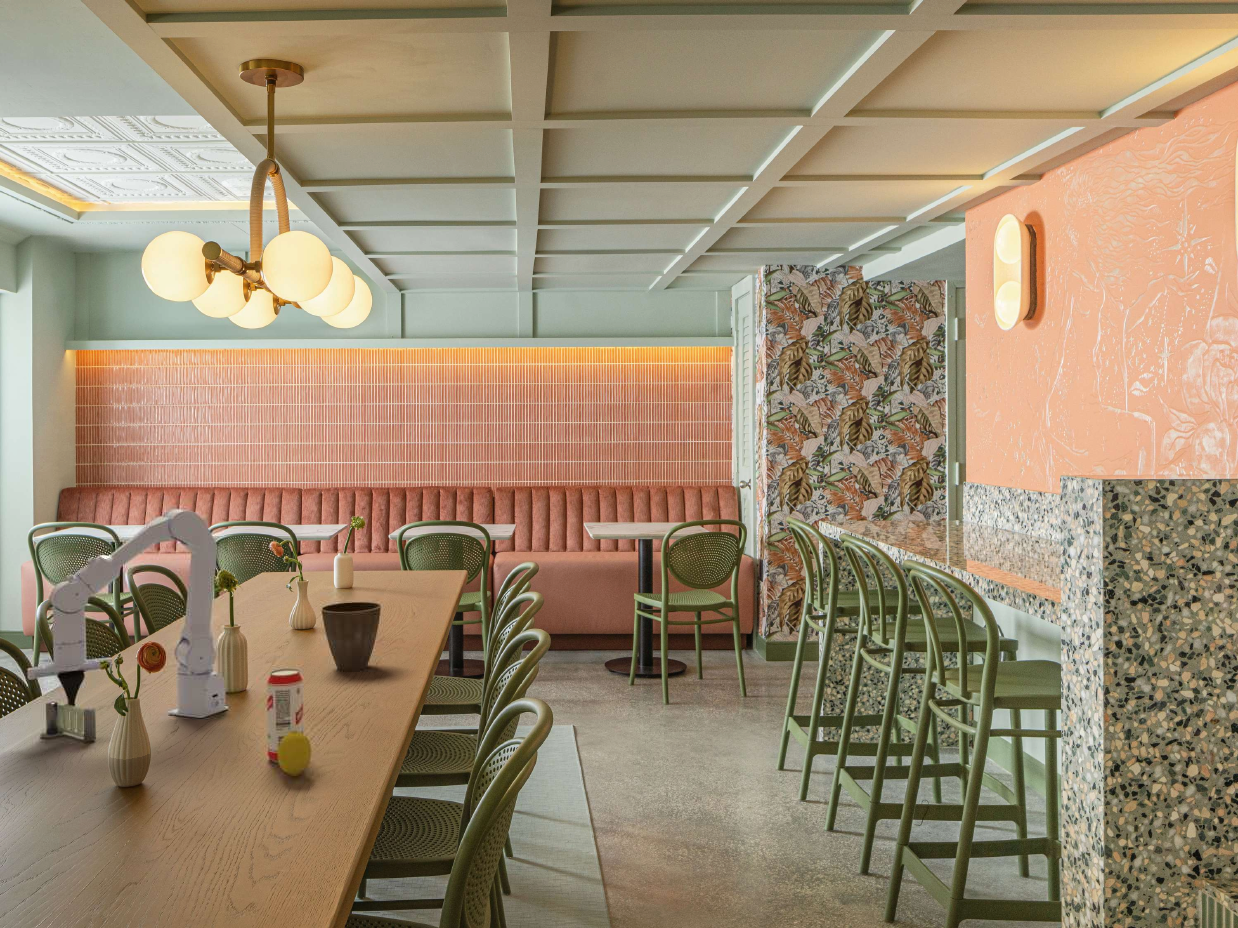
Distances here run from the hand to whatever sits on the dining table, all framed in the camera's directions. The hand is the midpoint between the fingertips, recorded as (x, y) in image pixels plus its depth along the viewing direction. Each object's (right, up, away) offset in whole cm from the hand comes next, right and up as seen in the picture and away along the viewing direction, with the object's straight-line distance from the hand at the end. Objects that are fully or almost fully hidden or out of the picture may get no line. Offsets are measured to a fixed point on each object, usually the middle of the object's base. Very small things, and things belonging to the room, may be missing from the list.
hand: (71, 708), depth 191 cm
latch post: (-3, -5, -2) cm, 6 cm away
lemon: (+54, -5, -26) cm, 60 cm away
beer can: (+49, -5, -16) cm, 52 cm away
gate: (+3, -4, -3) cm, 6 cm away
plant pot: (+41, -4, +56) cm, 69 cm away
